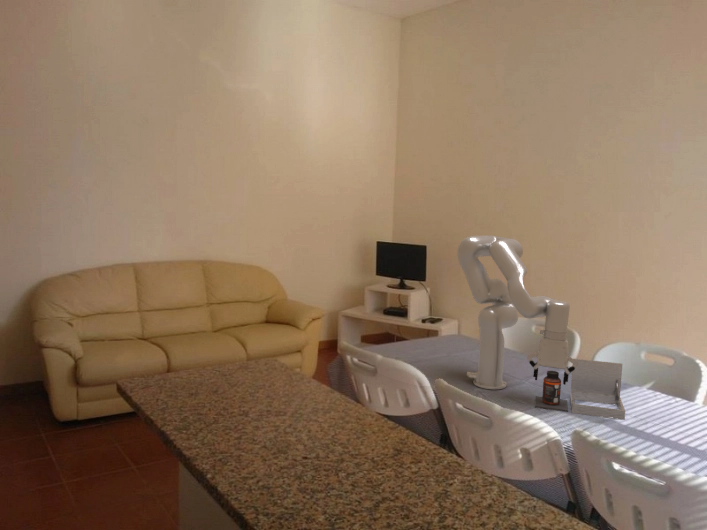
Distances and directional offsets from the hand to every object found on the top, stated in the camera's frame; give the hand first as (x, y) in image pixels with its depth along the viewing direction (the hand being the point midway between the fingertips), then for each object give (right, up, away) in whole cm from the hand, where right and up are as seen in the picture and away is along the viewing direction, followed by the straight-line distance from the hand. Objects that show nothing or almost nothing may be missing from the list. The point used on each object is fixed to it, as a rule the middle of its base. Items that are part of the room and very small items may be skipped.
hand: (550, 381), depth 203 cm
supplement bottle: (0, -8, 0) cm, 8 cm away
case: (+15, -9, -3) cm, 18 cm away
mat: (0, -8, 0) cm, 8 cm away
